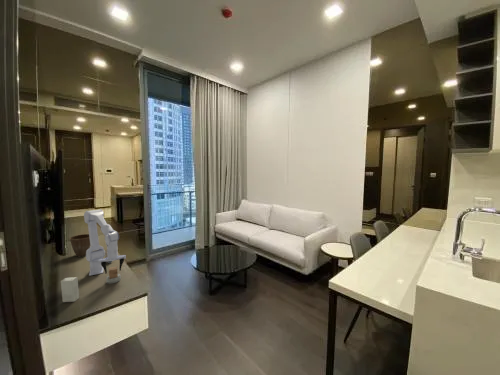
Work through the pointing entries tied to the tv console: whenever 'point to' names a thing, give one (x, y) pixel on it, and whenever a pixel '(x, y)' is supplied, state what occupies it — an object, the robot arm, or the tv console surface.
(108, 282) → the pale grey round disc
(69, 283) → the skincare box
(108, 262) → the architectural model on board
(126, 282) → the tv console surface
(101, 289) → the tv console surface
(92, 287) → the tv console surface
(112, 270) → the walnut block
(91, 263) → the robot arm
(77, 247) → the plant pot
